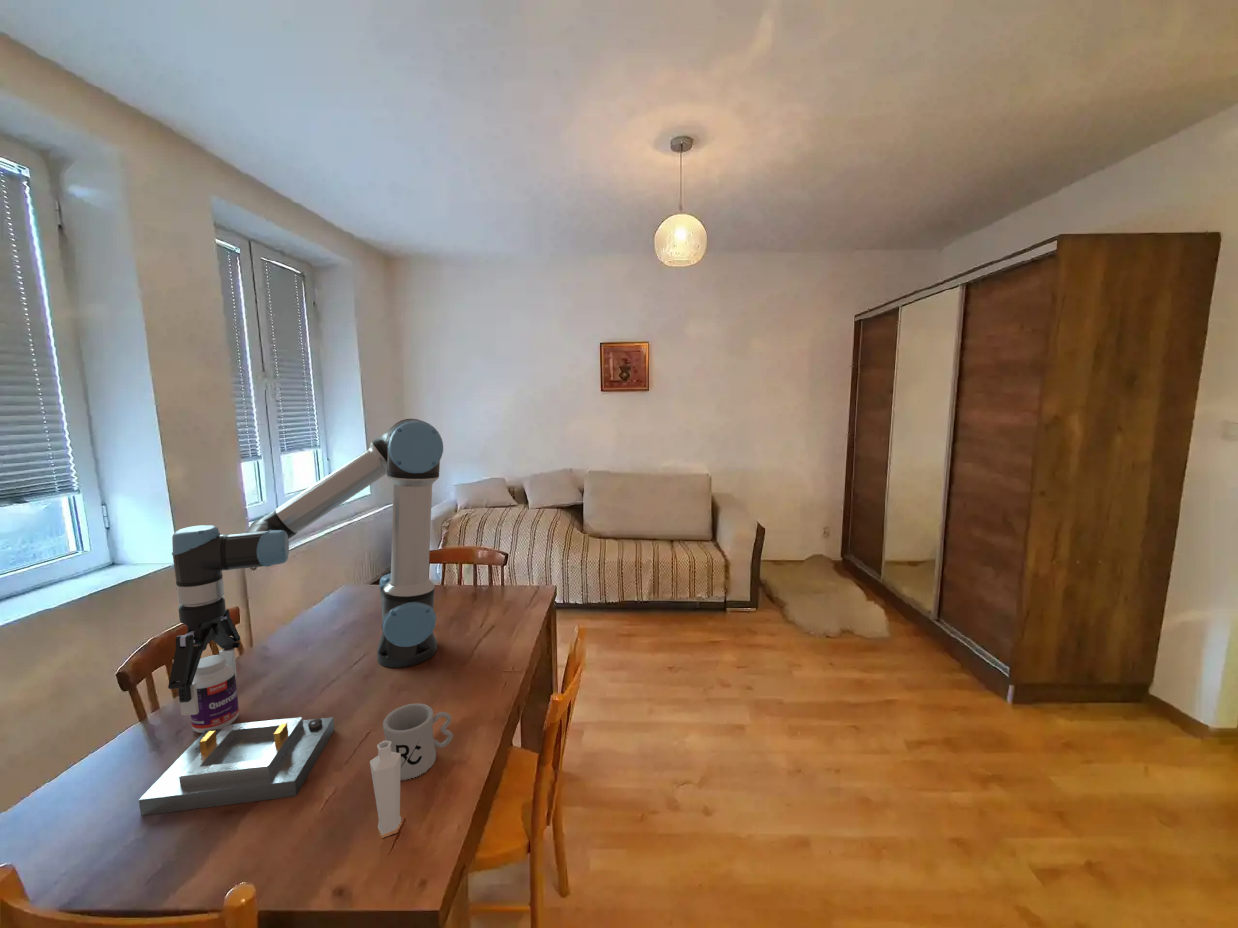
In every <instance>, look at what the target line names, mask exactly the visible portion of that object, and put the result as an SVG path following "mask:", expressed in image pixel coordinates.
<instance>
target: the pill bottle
mask: <svg viewBox="0 0 1238 928" xmlns="http://www.w3.org/2000/svg"><path fill="white" fill-rule="evenodd" d="M193 682H196V687H197V697H198V707H199V713H198V714H196V715H189V716H190V723H191V728H192V730H193V731H194V732H196V733H199V734H200V733H201V734H202V733H203V732H204V731H205V730H214V729H223V728H224V727H225V725H229V724H233V723H234V722H235V721H236V720H237V718H238V716H239V715H240V707H239V699H238V690H237V679H236V677H235V670H234V668H233V667H232V666H231V665H228V664H226V657H225V656H224V655H219V654H213V655H209V656H205V657H202V658H200V661H199V664H198V667H197V670H196V673H195V676H194V680H193Z"/></svg>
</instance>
